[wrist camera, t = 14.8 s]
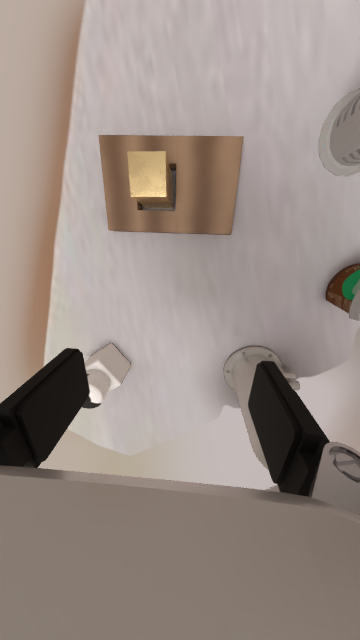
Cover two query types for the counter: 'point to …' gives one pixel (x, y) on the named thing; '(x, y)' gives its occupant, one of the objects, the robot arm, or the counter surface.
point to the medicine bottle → (104, 373)
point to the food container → (346, 291)
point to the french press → (342, 137)
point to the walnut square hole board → (191, 183)
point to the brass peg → (151, 179)
